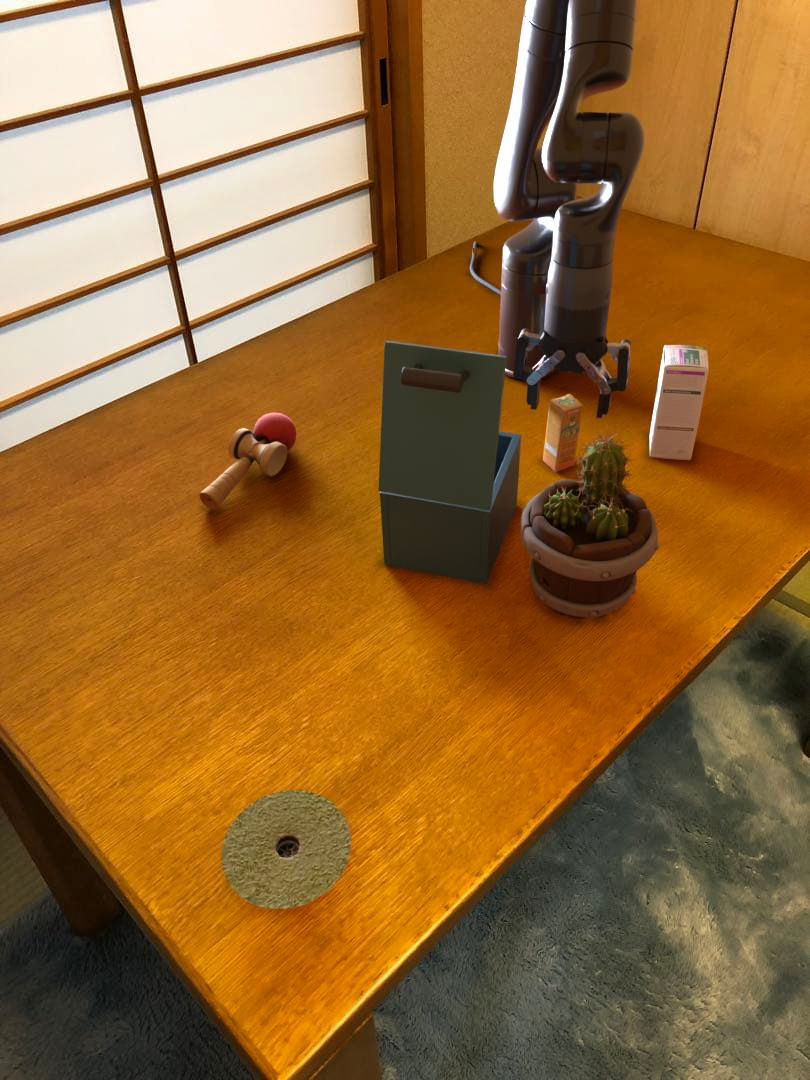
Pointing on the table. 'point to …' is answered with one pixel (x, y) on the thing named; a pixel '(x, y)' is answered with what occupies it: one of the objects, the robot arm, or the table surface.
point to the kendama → (253, 454)
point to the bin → (453, 525)
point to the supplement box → (562, 432)
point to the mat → (286, 849)
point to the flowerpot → (589, 536)
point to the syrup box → (678, 401)
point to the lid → (440, 423)
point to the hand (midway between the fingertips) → (566, 410)
